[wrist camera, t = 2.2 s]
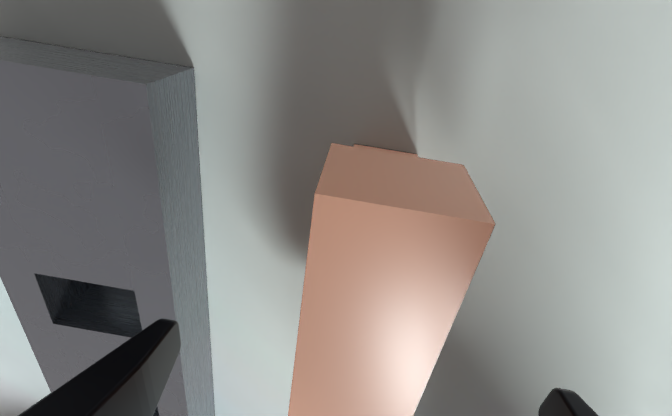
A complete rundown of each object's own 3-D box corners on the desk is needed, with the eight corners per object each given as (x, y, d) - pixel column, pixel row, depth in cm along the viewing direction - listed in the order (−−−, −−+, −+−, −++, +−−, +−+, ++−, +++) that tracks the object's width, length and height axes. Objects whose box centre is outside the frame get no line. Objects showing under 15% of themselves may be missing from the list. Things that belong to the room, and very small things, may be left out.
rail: (193, 68, 10) (146, 84, 8) (217, 453, 22) (199, 503, 19) (-5, 35, 11) (-102, 43, 8) (119, 435, 22) (91, 483, 19)
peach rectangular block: (442, 125, 11) (495, 223, 6) (382, 332, 15) (384, 483, 10) (342, 109, 11) (314, 194, 6) (312, 320, 15) (282, 464, 10)
